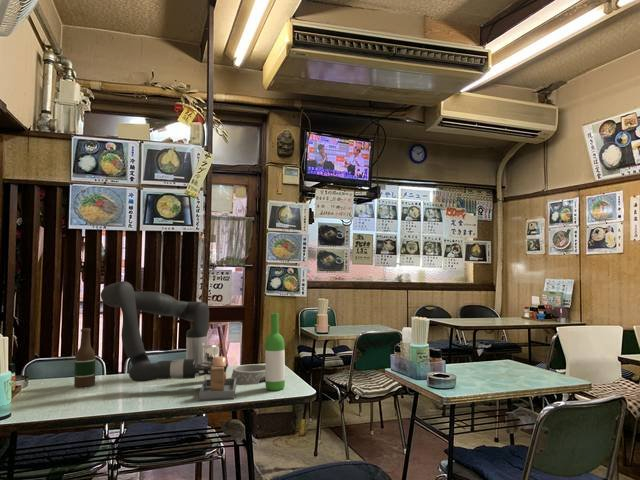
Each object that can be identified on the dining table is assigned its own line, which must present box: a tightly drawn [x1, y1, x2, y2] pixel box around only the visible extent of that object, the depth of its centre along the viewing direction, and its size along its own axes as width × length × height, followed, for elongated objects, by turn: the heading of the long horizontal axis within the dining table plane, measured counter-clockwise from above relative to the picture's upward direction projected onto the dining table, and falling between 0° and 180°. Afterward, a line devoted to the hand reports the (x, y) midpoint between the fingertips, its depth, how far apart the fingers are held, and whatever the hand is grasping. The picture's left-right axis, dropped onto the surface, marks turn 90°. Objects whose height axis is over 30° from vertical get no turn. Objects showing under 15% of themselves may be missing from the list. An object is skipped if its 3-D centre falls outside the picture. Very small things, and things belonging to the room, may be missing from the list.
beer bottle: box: [73, 327, 96, 389], centre depth 195 cm, size 8×8×24 cm
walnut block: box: [211, 367, 224, 391], centre depth 175 cm, size 4×4×10 cm
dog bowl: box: [231, 363, 266, 385], centre depth 202 cm, size 17×18×5 cm
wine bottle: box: [264, 312, 286, 392], centre depth 186 cm, size 8×8×30 cm
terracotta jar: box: [213, 356, 227, 383], centre depth 187 cm, size 5×5×10 cm
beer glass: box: [203, 344, 220, 383], centre depth 200 cm, size 7×7×15 cm
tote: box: [198, 377, 237, 401], centre depth 180 cm, size 21×13×3 cm, turn 8°
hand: (226, 367), depth 187 cm, fingers closed on terracotta jar, 5 cm apart
